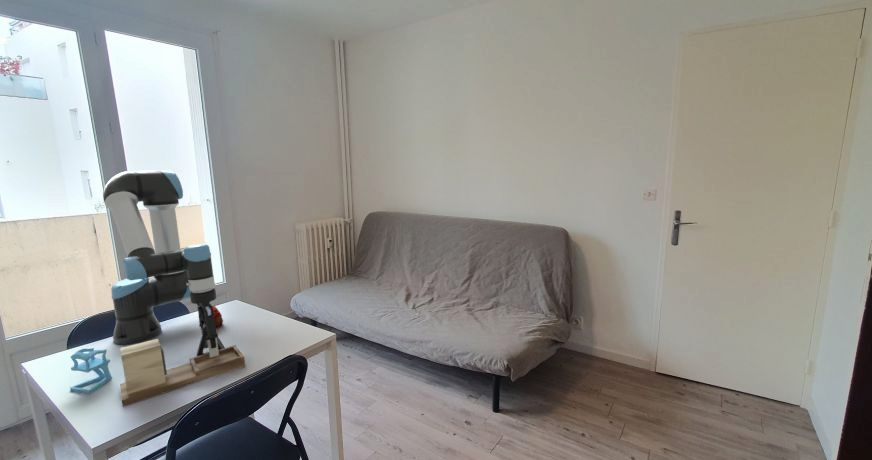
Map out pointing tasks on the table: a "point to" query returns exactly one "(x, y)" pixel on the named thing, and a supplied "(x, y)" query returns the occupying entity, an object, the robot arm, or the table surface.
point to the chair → (91, 368)
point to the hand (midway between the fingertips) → (211, 351)
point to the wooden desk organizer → (189, 374)
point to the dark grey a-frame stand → (202, 342)
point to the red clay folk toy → (217, 317)
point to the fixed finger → (143, 365)
